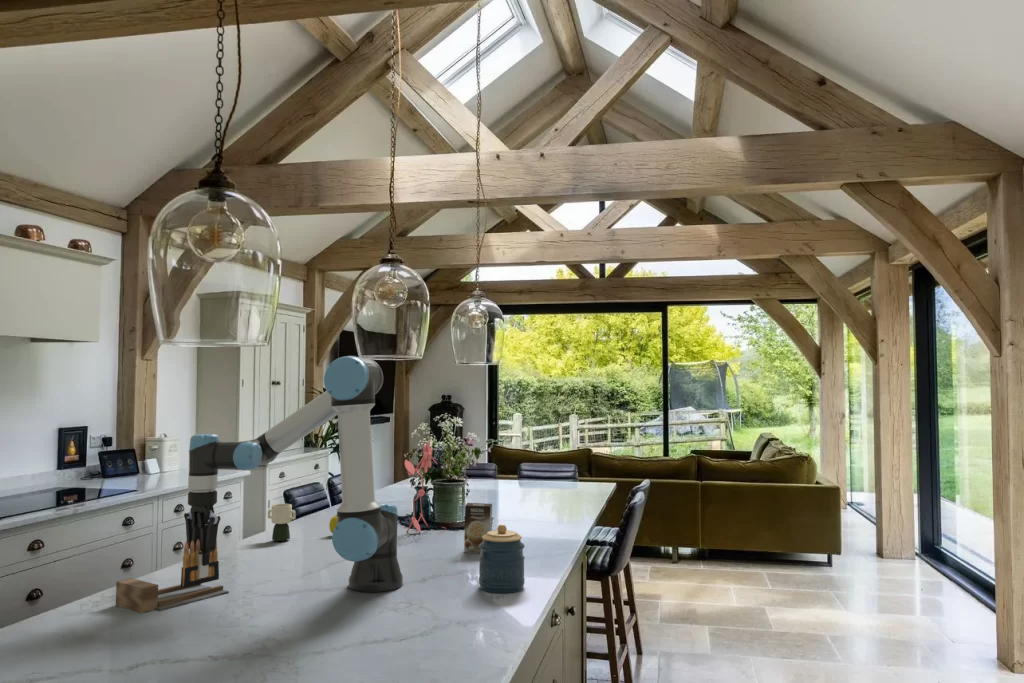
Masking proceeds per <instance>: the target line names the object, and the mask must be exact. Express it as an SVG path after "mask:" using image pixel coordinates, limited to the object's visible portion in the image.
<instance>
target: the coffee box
mask: <svg viewBox="0 0 1024 683" xmlns="http://www.w3.org/2000/svg"><path fill="white" fill-rule="evenodd" d="M489 531H493V503H481V502H467V503H466V504H465V506H464V539H463V540H464V543H463V546H464V549H463V553H467V554H468V553H469V554H481V549H480V547H479V544H480V543H482V542H483V540H484V539H482V536H483V535H485V534H487V532H489Z"/></svg>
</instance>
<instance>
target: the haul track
mask: <svg viewBox="0 0 1024 683" xmlns="http://www.w3.org/2000/svg"><path fill="white" fill-rule="evenodd" d="M115 585H116V586H115V587H116V589H115V606H117V607H121V608H124V609H128V610H130V611H134V612H137V613H141V614H143V613H147V612H152V611H156V610H157V611H158V612H159V611H160V612H162V611H165V610H168V609H172V608H176V607H181V606H184V605H188V604H191V603H196V602H199V601H203V600H206V599H210V598H214V597H218V596H221V595H226V594H229V590H225V589H224V586H223V585H216V586H207V585H204V584H197V585H193V586H189V587H181V583H180V584H177V585H172V586H169V587H168V586H167V587H165V588H161V589H159V584H156V583H152V582H148V581H144V580H139V579H135V578H133V577H131V578H127V579H122V580H118V581H116V583H115Z"/></svg>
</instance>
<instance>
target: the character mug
mask: <svg viewBox="0 0 1024 683" xmlns="http://www.w3.org/2000/svg"><path fill="white" fill-rule="evenodd" d="M292 508H293V505H292V504H291V503H276V504H272V505H271V508H270V509H268V510H267V519H270V520H271V523H272V524H275V525H273V530H272V535H271V536H272V537H271V540H272V541H276V542H281V541H283V542H285V541H287V540H290V539H291V535H290V534H291V533H290V526H289V523H291V522H292V521H293V520H296V512H297V511H296V509H295V510H294V509H292Z"/></svg>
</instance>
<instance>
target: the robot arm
mask: <svg viewBox="0 0 1024 683" xmlns="http://www.w3.org/2000/svg"><path fill="white" fill-rule="evenodd" d="M323 384H324V387H325V391H324V392H322V393H321V394H319V395H318V396H317V397H315V398H314V399H312V400H310V401H309V402H308V403H306V404H305V405H303V406H302V407H301V408H299V409H297V410H296V411H294V412H293V413H291V414H289V416H287V417H285V418H284V419H283V420H281V421H280V422H278V423H277V424H275V425H274V426H273V427H271V428H270V429H268V430H266V431H265V432H264V433H262V434H261V435H259V436H258V437H256V438H253V439H250V440H244V441H220V438H219V437H220V436H219V435H218V434H217V433H216V434H214V433H213V434H212V433H200V434H199V433H198V434H193V435H192V436H191V437H190V438H189V440H190V441H189V449H188V452H189V453H188V457H189V460H188V466H189V467H188V480H187V482H188V483H187V489H188V490H189V491H188V493H187V505H188V506H190V507H191V508H190V510H189V511H188V512H185V513H184V514H183V516H184V520H185V531H186V532H185V533H186V541H187V542H188V546H189V550H190V545H191V541H192V540H193V542H194V547H195V550H196V542H197V540H198V539H199V542H200V552H198V553H199V556H198V578H204V577H208V568H209V555H210V552H212V551H215V548H216V539H218V530H219V525H220V522H221V516H220V515H215V514H216V513H215V509H214V506H215V505H216V504H217V503H218V491H217V488H218V474H219V470H240V471H241V470H242V471H249V470H250V471H251V470H255V469H257V468H258V467H259V466H263V465H267V464H269V463H272V462H273V461H275V459H277V456H278V455H280V453H282V452H283V451H285V450H287V449H288V448H290V447H292V446H293V445H294V444H296V443H297V442H298V441H300V440H302V439H303V438H305V437H306V436H307V435H309V434H310V433H312V432H313V431H315V430H316V429H318V428H320V427H321V426H322V425H324V424H326V423H328V422H329V421H330V420H331V419H334V418H335V417H337V426H338V429H337V430H338V443H339V446H338V447H339V464H340V481H341V482H340V484H341V485H340V486H341V500H342V501H341V504H340V505H339V506H338V508H337V509H336V515H337V525H336V527H335V529H334V531H333V533H332V536H331V541H332V546H333V548H334V550H335V553H337V555H339V556H340V557H341V558H343V559H344V560H346V561H350V562H354V563H353V564H352V569H351V572H350V575H349V577H348V588H349V589H351V590H353V591H356V592H364V593H377V592H378V593H379V592H381V593H382V592H388V591H393V590H396V589H399V588H401V587H402V586H403V584H404V581H403V580H404V578H403V577H404V576H403V574H402V572H401V568H400V564H399V560H398V518H399V514H398V507H397V505H396V504H393V503H379V502H377V501H376V498H375V482H374V481H375V480H374V479H375V478H374V465H373V464H374V463H373V460H374V459H373V446H372V445H373V443H372V426H371V410H372V409H373V408H374V407H375V406H376V396H375V395H376V394H378V393H379V391H380V390H381V389H382V387H383V384H384V374H383V371H382V368H381V366H380V365H379V364H378V362H376V361H375V360H374V359H372V358H369V357H361V356H360V357H359V356H357V355H346V356H341V357H338V358H336V359H334V360H333V361H332V362H330V364H329V365H328V366H327V368H326V370H325V372H324V375H323Z"/></svg>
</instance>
